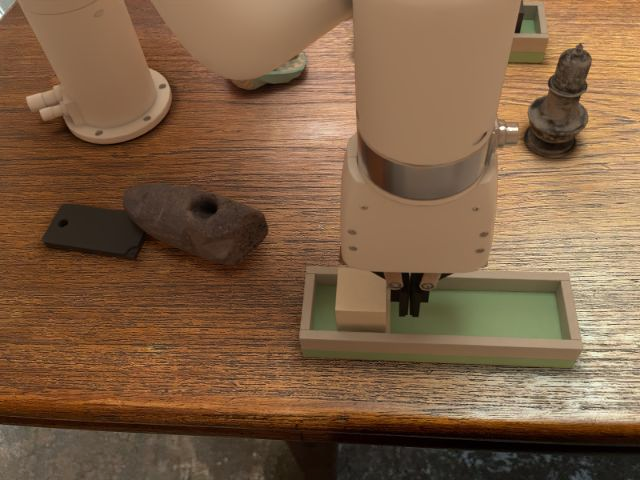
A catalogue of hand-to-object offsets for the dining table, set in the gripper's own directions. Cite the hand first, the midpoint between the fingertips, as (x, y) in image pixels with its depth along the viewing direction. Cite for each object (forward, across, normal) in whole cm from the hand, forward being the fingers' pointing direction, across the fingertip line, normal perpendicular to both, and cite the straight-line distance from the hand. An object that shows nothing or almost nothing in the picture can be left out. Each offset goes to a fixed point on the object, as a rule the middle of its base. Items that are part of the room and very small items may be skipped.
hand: (408, 301), depth 50 cm
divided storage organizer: (+4, -2, 0) cm, 5 cm away
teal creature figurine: (+2, +13, -40) cm, 42 cm away
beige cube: (+2, +4, 0) cm, 4 cm away
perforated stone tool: (+4, +20, -8) cm, 22 cm away
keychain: (+4, +30, -9) cm, 32 cm away
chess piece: (+4, -15, -22) cm, 27 cm away
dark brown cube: (+2, -11, -39) cm, 40 cm away
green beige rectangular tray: (+4, -5, -39) cm, 39 cm away
